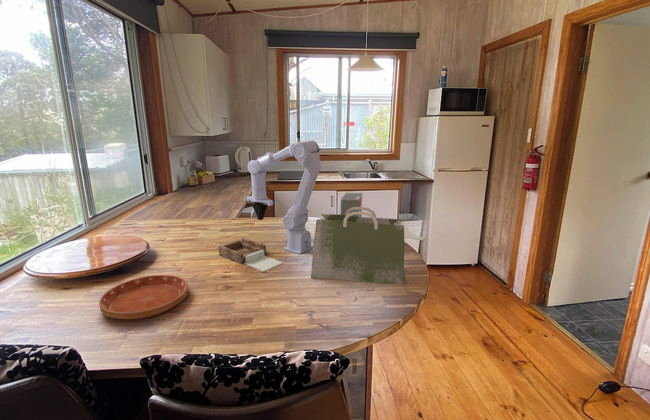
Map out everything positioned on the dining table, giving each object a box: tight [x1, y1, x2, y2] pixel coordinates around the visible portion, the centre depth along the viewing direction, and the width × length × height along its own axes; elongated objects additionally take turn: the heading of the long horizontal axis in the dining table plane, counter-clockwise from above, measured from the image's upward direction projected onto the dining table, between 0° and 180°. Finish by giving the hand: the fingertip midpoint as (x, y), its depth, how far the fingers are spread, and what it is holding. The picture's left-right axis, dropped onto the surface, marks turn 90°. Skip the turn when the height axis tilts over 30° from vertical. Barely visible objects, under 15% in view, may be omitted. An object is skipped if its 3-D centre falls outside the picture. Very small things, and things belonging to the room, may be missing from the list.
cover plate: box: [243, 250, 284, 273], centre depth 126 cm, size 11×9×3 cm
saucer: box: [98, 274, 189, 320], centre depth 100 cm, size 23×23×4 cm
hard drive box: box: [340, 192, 363, 217], centre depth 147 cm, size 16×8×20 cm, turn 168°
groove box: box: [218, 237, 267, 265], centre depth 134 cm, size 14×12×4 cm
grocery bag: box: [310, 206, 408, 285], centre depth 115 cm, size 32×14×23 cm, turn 82°
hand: (260, 219), depth 147 cm, fingers closed
